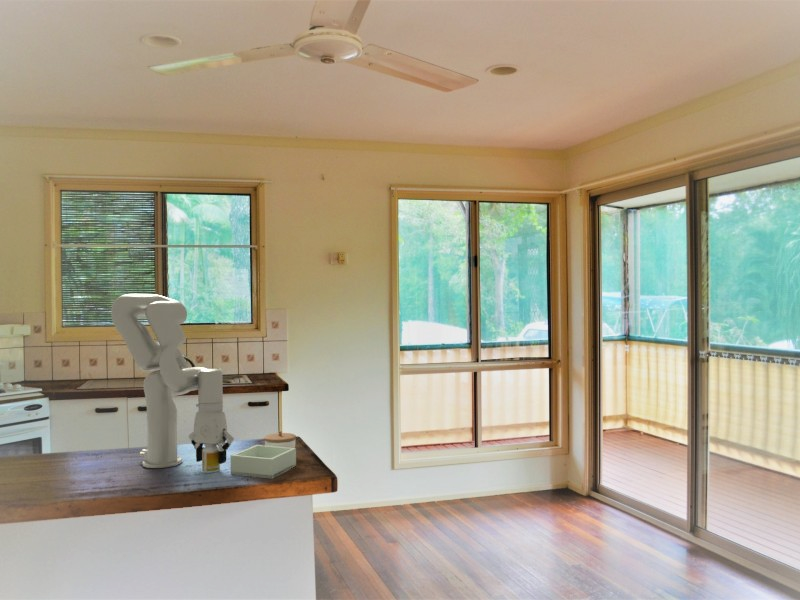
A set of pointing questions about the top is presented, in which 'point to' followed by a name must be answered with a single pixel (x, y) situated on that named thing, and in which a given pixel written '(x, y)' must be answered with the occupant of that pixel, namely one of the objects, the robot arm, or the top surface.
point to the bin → (263, 461)
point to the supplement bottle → (210, 458)
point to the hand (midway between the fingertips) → (211, 461)
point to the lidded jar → (280, 440)
